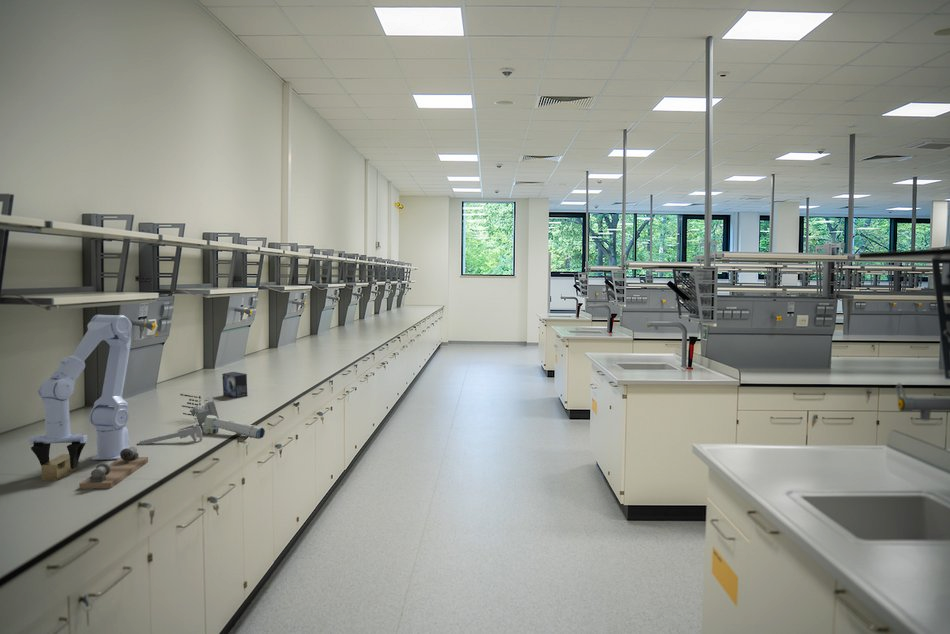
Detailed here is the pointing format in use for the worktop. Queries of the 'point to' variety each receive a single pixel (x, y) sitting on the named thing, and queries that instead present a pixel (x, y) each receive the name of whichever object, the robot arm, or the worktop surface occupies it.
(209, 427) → the blue-tipped grey rod
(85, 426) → the worktop surface
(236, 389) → the small box
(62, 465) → the coupling block
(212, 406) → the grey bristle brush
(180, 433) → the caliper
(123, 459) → the shaft cradle
